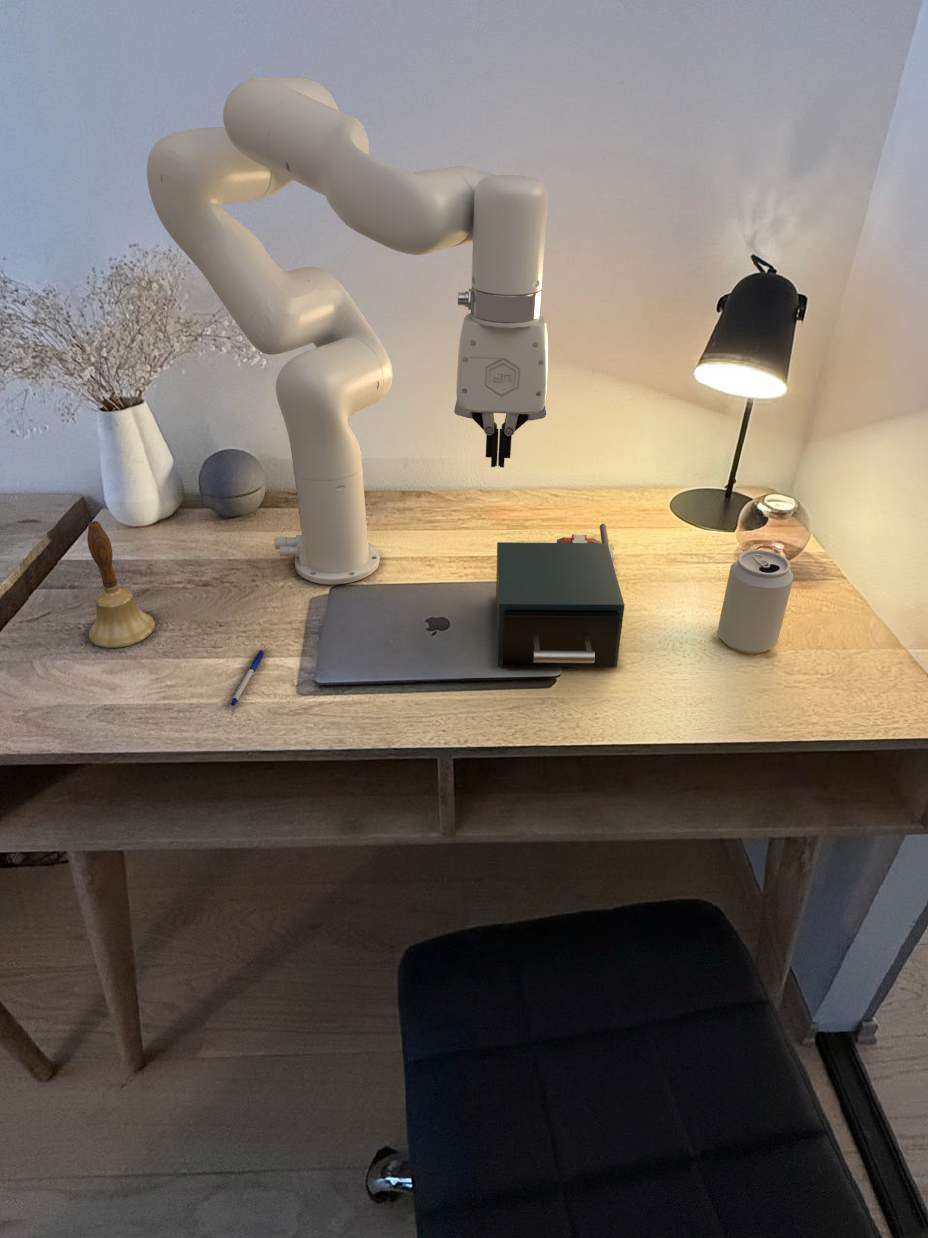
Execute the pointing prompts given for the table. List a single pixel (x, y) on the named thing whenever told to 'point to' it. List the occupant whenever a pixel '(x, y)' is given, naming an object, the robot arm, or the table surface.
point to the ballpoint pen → (248, 676)
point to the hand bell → (114, 601)
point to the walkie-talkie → (589, 539)
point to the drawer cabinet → (555, 581)
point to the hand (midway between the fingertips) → (497, 462)
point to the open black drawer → (560, 638)
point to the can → (755, 601)
